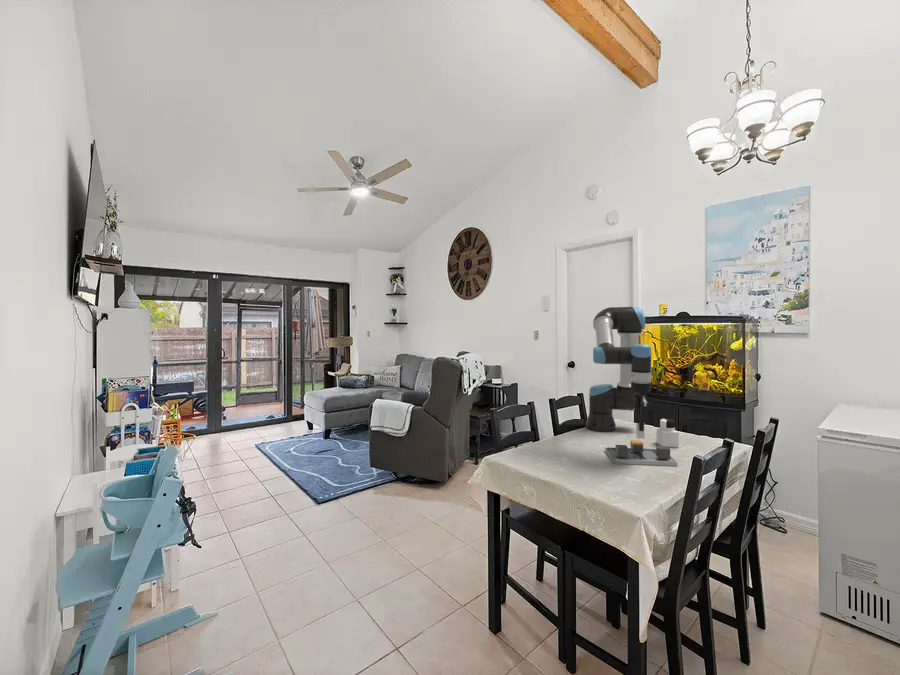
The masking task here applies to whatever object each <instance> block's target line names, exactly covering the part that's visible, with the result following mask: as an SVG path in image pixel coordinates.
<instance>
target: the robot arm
mask: <svg viewBox="0 0 900 675" xmlns="http://www.w3.org/2000/svg"><path fill="white" fill-rule="evenodd" d="M592 326H593V329H594V330H595V338H596V346H595V347H593V349H592V351H593V352H592V359H593V360H592V361H593V363H594V364H597V365H600V364H601V365H620V366H619V381H618V383H616V387H614V386H613V385H612V384H610V383H609V384H607V383H603V384H596V385H592V386H590V388H589V392H588V393H589V394H588V396H589V397H588V398H589V405H588V406H589V407H588V409H589V411H588V416H587V420H586V421H585V428H586V429H587V428H588V429H587V430H589V431H594V432H600V433H601V432H603V433H605V432H607V433H608V432H614V431H616V430H617V425H616V421H615V418H614V416H613V411H617V410H618V411H631V412H633V411H634V419H635V423H636V429H635V430H636V431H635V432H636V435H635V436H636V439H645V424H647V422H648V421H647V419H648V411H649V410H648V409H649V404H650V402H649V401H648V397H647V393H650V392H651V391H652V383H651V382H652V355H653V353H652V346H651V345H650V344H645V343H644V344H643V343H642V344H641V343H640V344H639V336H640V335H641V334H643V332H642V331H644V330H645V329H646V316H645V312H644V310H643V308H642V307H640V306H615V307H614V306H612V307H611V306H610V307H606V308H604V309H602V310H601V311H599V312H598V313H597V314H596V315H595V316H594V318H593V321H592ZM613 330H617V335H619V336H620V345H619V346H615V342H614V334H613Z"/></svg>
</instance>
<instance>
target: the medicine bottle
mask: <svg viewBox="0 0 900 675" xmlns="http://www.w3.org/2000/svg"><path fill="white" fill-rule="evenodd" d="M655 432H656V439H655V440H656V444H658V446H667V447H668V448H679V447H680V446H679V444H680V443H679V442H680V432H679V431H677V430H676V421H675V420H674V419H671V418H661V419H660V422H659V427H656V431H655Z"/></svg>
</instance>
